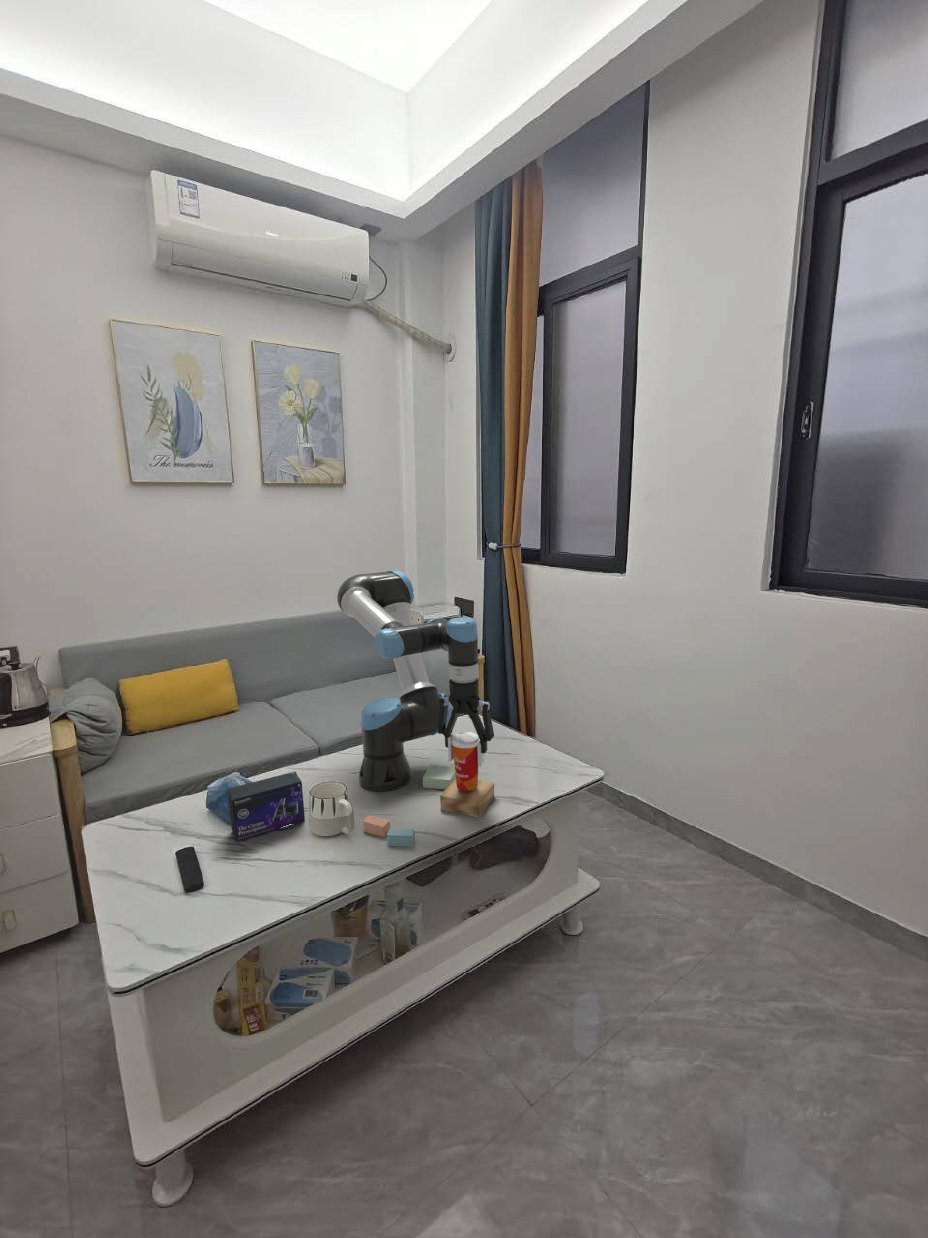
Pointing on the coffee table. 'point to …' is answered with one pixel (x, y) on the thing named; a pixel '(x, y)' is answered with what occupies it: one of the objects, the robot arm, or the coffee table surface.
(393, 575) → the robot arm
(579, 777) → the coffee table surface
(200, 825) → the coffee table surface
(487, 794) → the oak block
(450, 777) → the sage pad
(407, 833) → the brick
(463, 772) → the paper cup
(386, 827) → the brick
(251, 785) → the box
